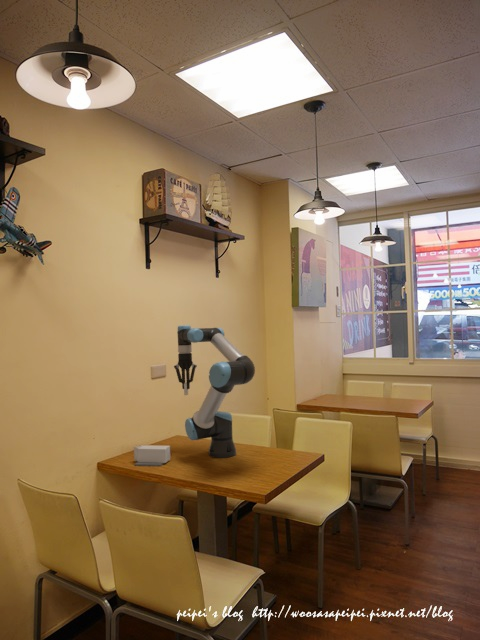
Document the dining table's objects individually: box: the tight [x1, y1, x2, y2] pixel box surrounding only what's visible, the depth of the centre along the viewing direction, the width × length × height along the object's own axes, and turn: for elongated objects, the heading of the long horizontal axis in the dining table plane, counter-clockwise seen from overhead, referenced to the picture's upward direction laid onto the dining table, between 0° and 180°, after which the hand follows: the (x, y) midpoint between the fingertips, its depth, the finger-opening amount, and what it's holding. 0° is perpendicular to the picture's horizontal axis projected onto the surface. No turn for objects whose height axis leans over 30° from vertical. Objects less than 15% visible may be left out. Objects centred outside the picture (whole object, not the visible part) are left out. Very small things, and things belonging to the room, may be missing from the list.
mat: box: [134, 461, 165, 467], centre depth 241 cm, size 14×12×1 cm
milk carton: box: [133, 444, 171, 464], centre depth 242 cm, size 7×7×19 cm
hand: (186, 394), depth 258 cm, fingers closed
